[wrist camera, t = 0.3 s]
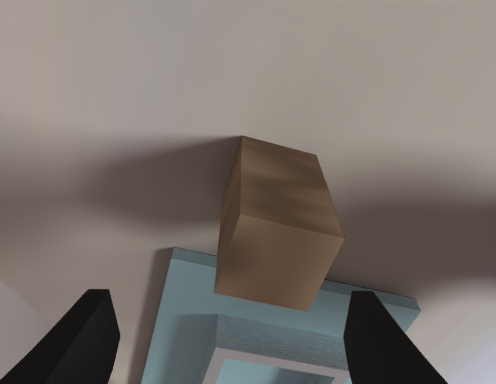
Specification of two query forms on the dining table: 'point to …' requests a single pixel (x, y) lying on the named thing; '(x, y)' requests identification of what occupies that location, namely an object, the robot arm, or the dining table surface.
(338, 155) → the dining table surface
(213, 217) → the dining table surface
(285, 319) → the board
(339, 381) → the socket
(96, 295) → the robot arm
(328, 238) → the peg
